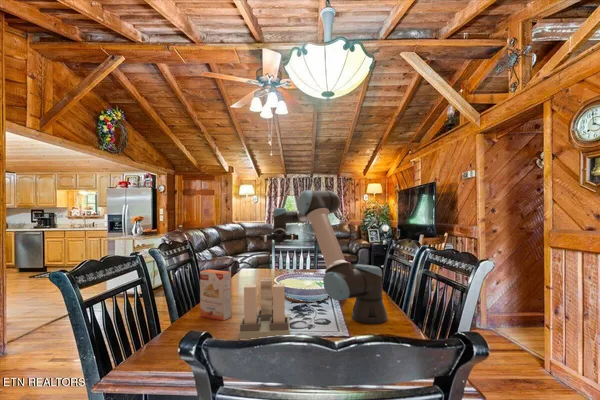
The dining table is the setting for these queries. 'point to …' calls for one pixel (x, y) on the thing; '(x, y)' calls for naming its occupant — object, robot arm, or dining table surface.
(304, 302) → the trivet
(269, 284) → the loose stool leg
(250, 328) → the stool seat
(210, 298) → the cracker box
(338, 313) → the dining table surface
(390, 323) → the dining table surface
